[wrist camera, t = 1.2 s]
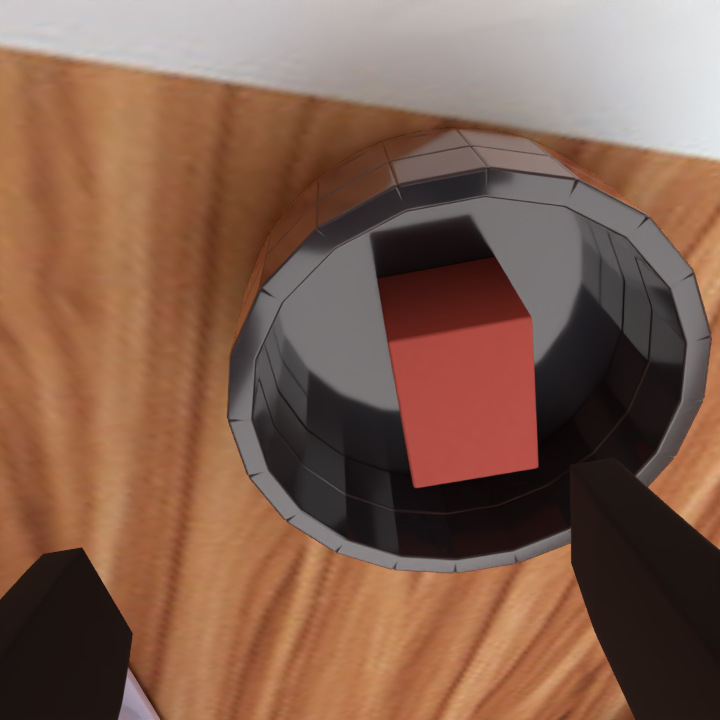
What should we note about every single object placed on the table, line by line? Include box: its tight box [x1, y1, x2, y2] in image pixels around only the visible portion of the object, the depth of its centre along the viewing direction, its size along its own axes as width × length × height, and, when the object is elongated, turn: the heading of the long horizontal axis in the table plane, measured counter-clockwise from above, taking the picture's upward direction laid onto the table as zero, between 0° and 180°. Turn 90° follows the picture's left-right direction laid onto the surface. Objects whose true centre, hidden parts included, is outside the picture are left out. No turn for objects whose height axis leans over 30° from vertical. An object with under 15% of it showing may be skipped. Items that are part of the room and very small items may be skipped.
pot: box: [227, 128, 712, 573], centre depth 17 cm, size 11×11×4 cm
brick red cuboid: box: [377, 257, 538, 488], centre depth 17 cm, size 4×3×4 cm
